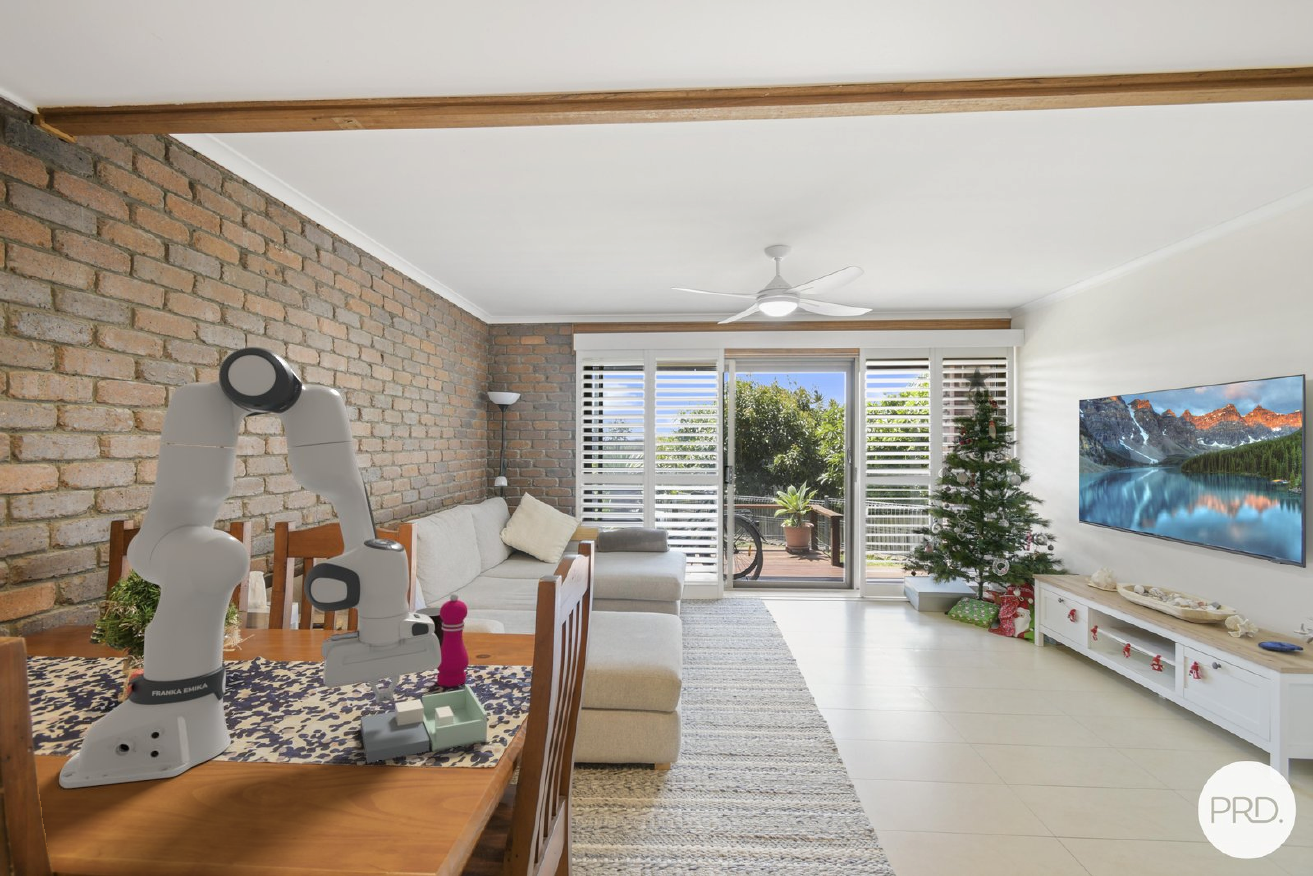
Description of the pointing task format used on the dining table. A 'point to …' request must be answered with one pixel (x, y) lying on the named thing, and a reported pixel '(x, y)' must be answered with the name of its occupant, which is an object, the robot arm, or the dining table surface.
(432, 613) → the coffee mug
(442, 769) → the dining table surface
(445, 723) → the tile front
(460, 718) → the bin
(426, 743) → the slate plate
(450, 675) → the pepper mill
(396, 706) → the tile back
